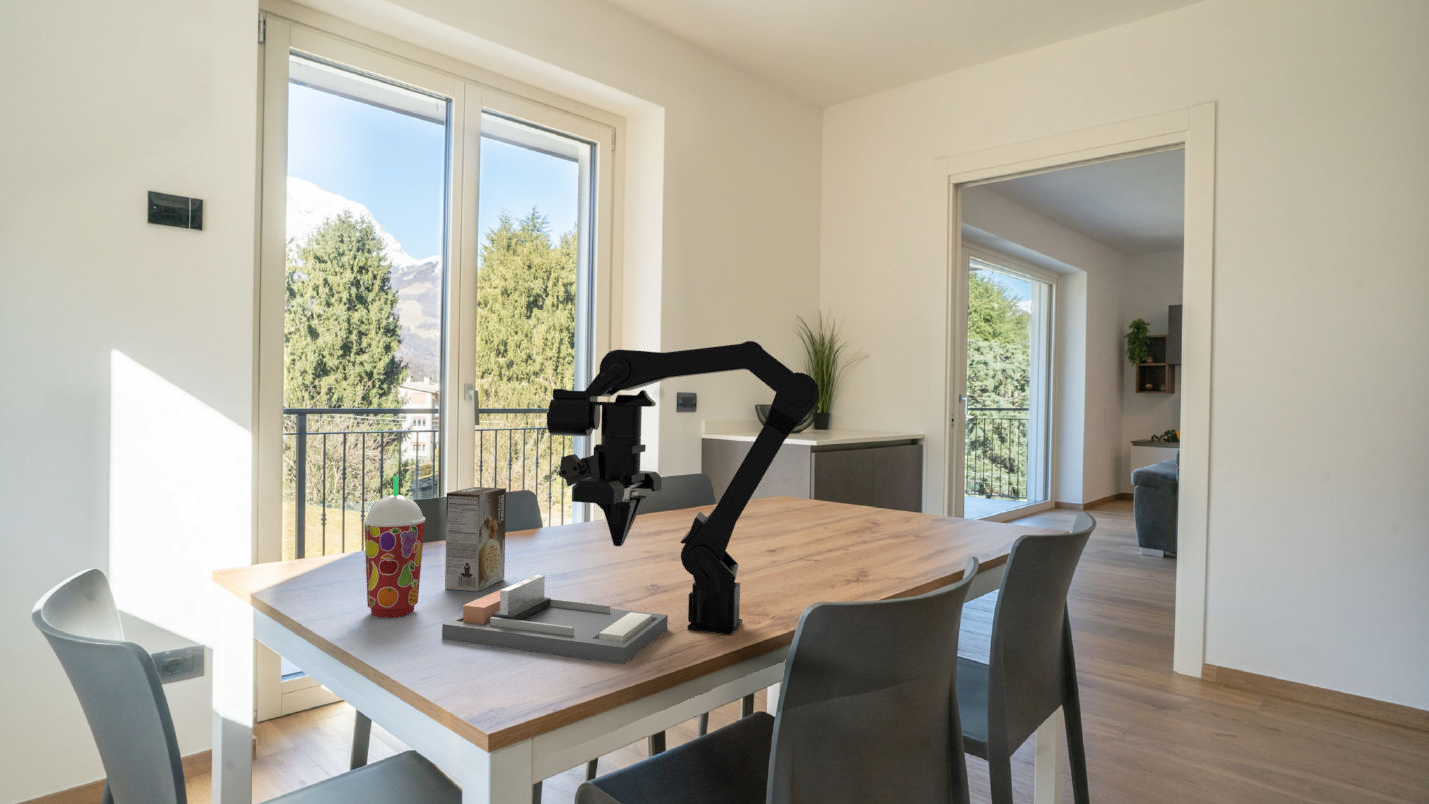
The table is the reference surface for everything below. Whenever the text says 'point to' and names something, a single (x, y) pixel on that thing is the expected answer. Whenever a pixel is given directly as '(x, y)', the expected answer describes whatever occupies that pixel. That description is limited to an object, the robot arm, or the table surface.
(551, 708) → the table surface
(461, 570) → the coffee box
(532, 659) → the table surface
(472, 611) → the button terracotta
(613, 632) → the button white
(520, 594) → the slider paddle
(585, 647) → the panel
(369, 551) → the smoothie
